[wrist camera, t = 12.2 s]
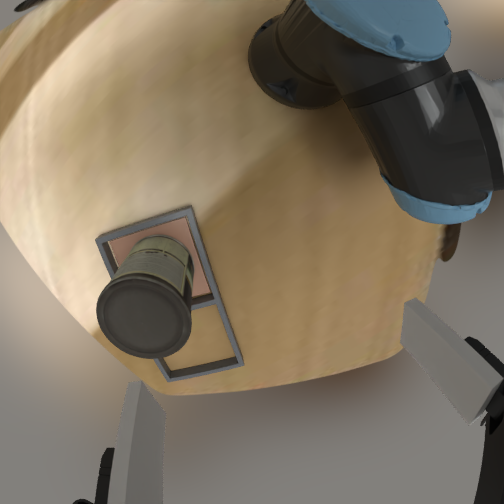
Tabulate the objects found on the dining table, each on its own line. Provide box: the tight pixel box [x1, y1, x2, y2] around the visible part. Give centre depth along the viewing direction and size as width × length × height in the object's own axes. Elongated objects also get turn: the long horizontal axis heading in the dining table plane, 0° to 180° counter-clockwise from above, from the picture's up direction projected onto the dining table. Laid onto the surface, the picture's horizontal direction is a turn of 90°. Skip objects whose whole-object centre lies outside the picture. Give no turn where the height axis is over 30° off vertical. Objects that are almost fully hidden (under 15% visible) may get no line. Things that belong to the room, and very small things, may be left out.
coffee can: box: [96, 234, 195, 359], centre depth 33 cm, size 10×10×14 cm
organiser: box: [95, 205, 244, 382], centre depth 41 cm, size 15×28×2 cm, turn 14°
